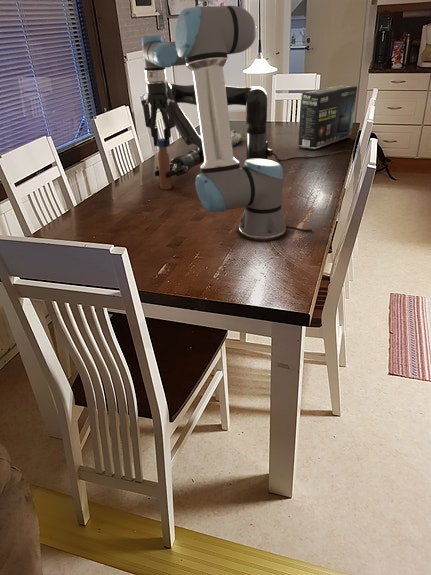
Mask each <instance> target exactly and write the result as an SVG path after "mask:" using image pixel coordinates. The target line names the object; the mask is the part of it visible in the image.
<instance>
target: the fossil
mask: <svg viewBox="0 0 431 575" xmlns="http://www.w3.org/2000/svg"><path fill="white" fill-rule="evenodd" d="M230 131H231V139H232V147H233V146H235V145H237V144H239V143H240V142H241V141H242V140H243V139H242V137H246V135H245V133H244V132H243V131H241V130H237V131H236V130H235V128H230ZM239 141H240V142H239ZM238 142H239V143H238ZM236 143H237V144H236Z"/></svg>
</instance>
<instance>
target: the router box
mask: <svg viewBox="0 0 431 575" xmlns="http://www.w3.org/2000/svg"><path fill="white" fill-rule="evenodd" d="M357 93H358V86H356V85H350V84H339V85H338V84H337V85H334V86H328V87H324V88H318V89H314V90H309V91H304V92H301V93H300V109H299V110H300V111H299V124H298V137H297V146H298V145H302V146H307V147H317V146H320V145H323V144H325V143H328V142H331V141H333V140H336V139H338V138H341V137H344V136H347V135H351V136H352V133H353V132H352V131H353V125H354V115H355V109H356V99H357ZM311 151H313V150H312V149H311Z"/></svg>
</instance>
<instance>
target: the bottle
mask: <svg viewBox="0 0 431 575" xmlns="http://www.w3.org/2000/svg"><path fill="white" fill-rule="evenodd" d="M157 148H158V149H157V154H156V159H157V166H158V169H159V176H158V178H159V188H160V189H161V190H170V189H172V187H173V185H172V176H171V177H169V178H166V172H168V171H170V162H171V160H170V153H169V151H168V149H167V147H157Z"/></svg>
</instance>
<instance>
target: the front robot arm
mask: <svg viewBox="0 0 431 575" xmlns="http://www.w3.org/2000/svg"><path fill="white" fill-rule="evenodd" d="M177 16H178V17H177V19H176V24H175V29H174V30H175V31H174V41H164V40H163V36H162V35H161V34H147V35H146V34H145V35H143V36H142V37H141V48H142V58H143V65H144V74H145V81H146V84H145V85H146V86H145V87H146V93H147V96H146V99H142V100H141V101H140V104H141V105H142V108H143V116H144V123H145V124H144V125H145V127H146V128H149V129H150V135H151V138H152V139H153V147H157V144H156V140H157V139H159V128H158V127H157V115H158V114H157V113H158V110H159V112H160V114H161V118H162V121H163V125H164V129H163V136H164V139H165V147H166V148H168V147H169V146H171V140H170V138H172V131H171V129H172V128H176V127H175V118H174V104H175V101H174V100H170V99H168V96H167V85H166V82H167V81H166V80H167V76H166V68H171V67H175V66H176V67H177V66H186V68H187V69H189V70H190V71H191V72H192V78H193V85H194V86H195V94H196V101H197V105H196V107H197V108H196V109H197V115H198V123H199V131H200V137H201V138H202V146H203V153H204V162H202V163H201V164H200V166H199V167H200V173H199V174H197V175H196V177H195V184H194V185H195V189H196V193H197V197H198V199H199V201H200V204H201V205H202V207H203V208H204V209H205V211H206V210H207V211H208V212H210V213H219V212H225V211H228V210H233V209H238V208H243V207H244V211H243V213H242V216H241V220H240V222H239V226H238V232H239V235H240V236H241V237H242V238H244V239H247V240H250V241H254V242H271V241H277V240H279V239H281V238H283V237H285V235H286V234H287V229H290V230H295V231H299V232H303V233H304V232H306V233H310V232H313V229H312V228H310V229H309V228H308V229H304V228H299V227H295V226H291V225H287V223H286V221H285V216H284V214H283V210H282V200H283V181H284V172H283V171H284V169H283V166H282V164H280V162H277V161H275V160H271V159H268V160H267V159H248V160H245V161H244V163H243V166H241V164H240V161H239V160H238V159H236V158H235V156H234V150H233V148H234V147H233V146H232V139H231V131H230V129H231V124H230V114H229V105H227V96H226V88H225V86H226V80H225V79H226V78H225V72H224V71H225V70H224V68H225V65H226V64H227V62H228V61H229V57H228V55H234V54H240V53H243V52H245V51H247V50H249V49H250V48H251V46H252V45H253V44H254V43H255V40H256V37H257V25H256V22H255V19H254V17H253V16H252V14H251V13H250V12H249V11H248V10H246V9H245V8H243V7H241V6H238V5H220V6H219V5H214V6H213V5H211V6H210V5H209V6H207V5H206V6H200V5H199V6H198V5H197V6H194V7H186V8H183V9H182V10H181V11H180V12H179V15H177ZM165 81H166V82H165ZM167 103H168V112H169V116H168V114H167V108H166V104H167Z"/></svg>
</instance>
